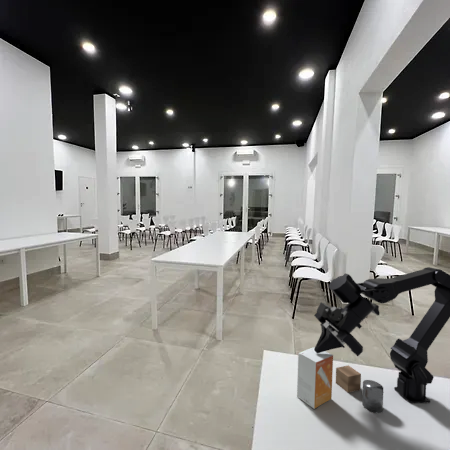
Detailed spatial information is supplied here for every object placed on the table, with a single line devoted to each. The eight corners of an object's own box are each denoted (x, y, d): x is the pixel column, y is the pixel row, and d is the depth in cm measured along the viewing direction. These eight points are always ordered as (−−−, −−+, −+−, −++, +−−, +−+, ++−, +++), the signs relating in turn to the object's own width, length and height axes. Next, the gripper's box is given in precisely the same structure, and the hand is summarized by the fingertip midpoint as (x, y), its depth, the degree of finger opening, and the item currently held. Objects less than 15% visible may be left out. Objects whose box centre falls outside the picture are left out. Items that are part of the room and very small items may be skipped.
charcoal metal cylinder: (375, 400, 75) (375, 379, 75) (387, 413, 70) (387, 391, 70) (358, 400, 75) (359, 380, 75) (369, 413, 70) (370, 391, 70)
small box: (314, 410, 70) (315, 362, 70) (296, 396, 76) (297, 352, 76) (332, 399, 75) (333, 354, 75) (314, 387, 80) (315, 345, 80)
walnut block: (347, 380, 84) (348, 365, 84) (360, 390, 80) (361, 373, 80) (335, 383, 83) (336, 367, 83) (347, 393, 78) (348, 376, 78)
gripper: (320, 286, 85) (286, 319, 84) (353, 304, 66) (309, 347, 65) (343, 310, 85) (309, 343, 85) (381, 335, 67) (339, 378, 66)
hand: (315, 351), depth 75 cm, fingers closed
